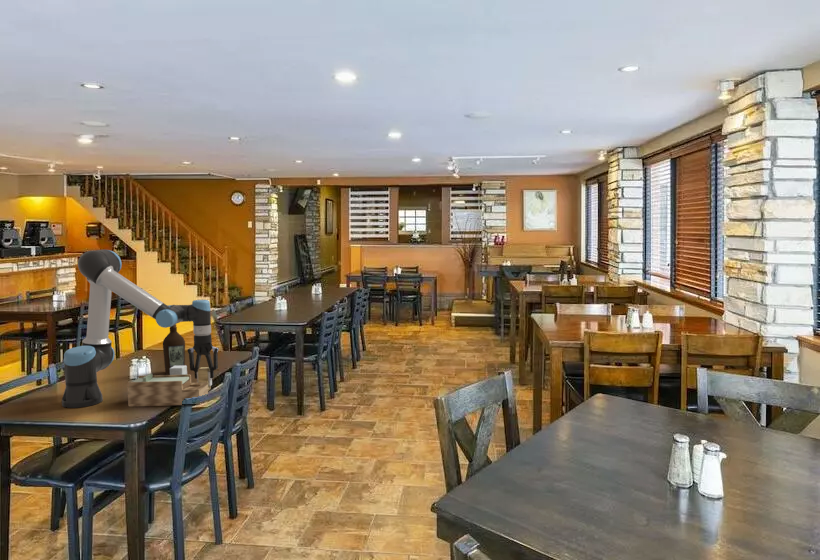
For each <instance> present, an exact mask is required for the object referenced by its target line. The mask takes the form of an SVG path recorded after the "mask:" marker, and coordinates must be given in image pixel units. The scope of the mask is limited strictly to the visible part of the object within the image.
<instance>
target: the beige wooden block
mask: <svg viewBox="0 0 820 560" xmlns="http://www.w3.org/2000/svg"><path fill="white" fill-rule="evenodd" d="M209 371H210V370H209V366H208V367H199V369H198V380H199V383H200V382H208V372H209ZM211 386H212V385H211ZM211 386H209V384H208V392H210V390H211Z"/></svg>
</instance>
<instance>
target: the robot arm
mask: <svg viewBox="0 0 820 560" xmlns="http://www.w3.org/2000/svg"><path fill="white" fill-rule="evenodd" d="M122 264H123V263H122V260H121V257H120V256H119V254H118V253H117V252H115V251H113V250H110V249H98V250H89V251H85V252H84V253H83V254H81V256H79V258H78V261H77V267H78V270H79V272H80V274H81V275H82V276H84V277H85V278H86V281H87V282H88V283H89V294H88V295H89V297H88V309H87V311H88V312H87V325H86V336H85V337H84V338H83V339H82V342H81V345H79V346H76V347H75V346H74V347H71V348H69V349H67V350H66V351H65V352H64V354H63V365H64V368H63V369H64V380H65V389H64V392H63V395H62V398H61V406H62V407H63V408H66V407H67V409H75V408H76V409H78V408H79V409H80V408H85V407H90V406H94V405H98V404H100V403H102V402H103V400H104V399H103V393H102V390H101V389H100V387H99V384H98V377H97V376H98V375H97V374H98V372H99V371H102V370H105V369H106V368H108V367H109V366H110V365H111V364H112V363H113V361H114V359H115V357H116V356H115V349H114V348H113V347H112V340H111V339H110V338H109V332H110V319H111V318H110V317H111V306H112V304H111V303H112V292H113V293H114V294H116V295H117V296H118V297H120V298H122V299H123V300H125V301H126V302H128V303H130V304H131V305H132V306H134V307H136V308H137V309H138V310H140V311H142V312H143V313H144V314H146V315H148V316H149V317H150V318H152V319H154V320H155V322H156V324H157V325H158V326H159V327H161V328H164V329H165V328H170V327H171V326H173V325H175V324H176V325H177V324H179V323H182V322H185V323H186V322H190V323H191V322H192V323H193V324H192V325H193V326H192V327H193V347H189V348H188V349H187V350H186V351H187V354H188V359H189V360H188V361H189V370H190V371H191V372H192V371H193V372H194V379H195V380H196V383H199V380H198V369H199V368H200V364H201V357H202V356H205V358H206V363H207V365H208V367H209V370H210V371H209V372H208V384H209V386H212V385H213V380H212V379H214V377H215V373H214V371H216V370H217V369H218V368H219V367H218V366H219V362H218V361H219V360H218V359H219V358H218V355H219V353H218V352H219V349H220V348H219V347H216V346H213V342H212V341H213V340H212V323H211V322H212V319H211V318H212V316H211V303H210V300H208V299H196V300H193V301H192V302H191V304H171V305H170V304H169V305H167V304H166V303H164V301H161V300H160V299H158V298H156V297H155V296H153V295H152V294H151V293H149V292H147V291H146V290H145V289H143V288H142V287H140V286H139V285H137V284H135V283H134V282H132V281H130V280H129V279H128V278H126V277H125V276H123V275H122V274H121V273H119V272H120V271H121V270H122ZM194 352H195V353H196V358H195V357H194V355H195V354H194ZM211 352H212V353H213V354H212V355H213V358H211ZM194 358H195V359H194Z"/></svg>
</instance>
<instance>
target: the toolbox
mask: <svg viewBox="0 0 820 560" xmlns="http://www.w3.org/2000/svg"><path fill="white" fill-rule="evenodd" d="M147 375H148V374H146V375H138V377H137V379H138V378H143V377H145V376H147ZM152 376H153V378H159V377H189V380H187V381H186V382H185V383H183V384H182V381H153V382H133V381H128V382H127V383H126V384H127V401H128V402H127V403H128V407H148V406H149V407H157V406H159V407H161V406H183V405H182V401H183V400H184V399H185V398H192V397H198V396H202V395H205V394H208V395H209V391H208V382H200V383H197V382H192V375H191V374H188V373H187V374H186V375H167V374H159V375H158V374H157V375H156V374H154V375H153V374H152ZM201 404H202V403H200V404H196V405H201Z"/></svg>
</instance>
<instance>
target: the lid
mask: <svg viewBox="0 0 820 560" xmlns="http://www.w3.org/2000/svg"><path fill="white" fill-rule="evenodd" d="M146 375H147V376H145V375H144V376H145V377H143V378H138V377H137V378H135V380H133V381H132V382H153V381H182V384H183V383H185V382H186V381H187V380H189V377H159V378H153V376H152V375H153V373H148V374H146Z"/></svg>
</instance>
